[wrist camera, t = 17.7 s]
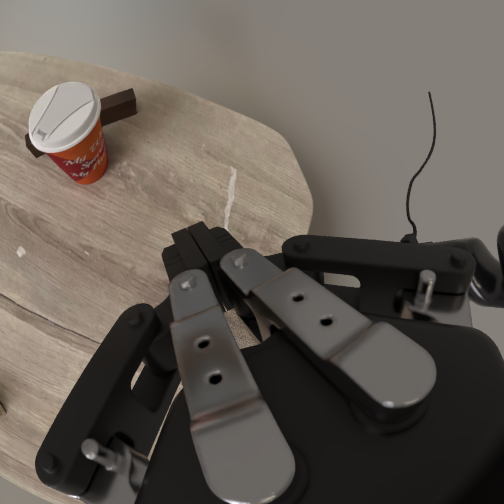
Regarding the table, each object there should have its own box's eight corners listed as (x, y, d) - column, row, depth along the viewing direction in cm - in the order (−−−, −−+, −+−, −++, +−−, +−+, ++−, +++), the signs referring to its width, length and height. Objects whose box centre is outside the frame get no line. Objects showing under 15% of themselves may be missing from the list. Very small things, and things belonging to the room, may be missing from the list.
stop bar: (133, 103, 32) (132, 87, 29) (136, 113, 32) (135, 98, 29) (34, 147, 27) (24, 135, 23) (36, 158, 27) (26, 146, 23)
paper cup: (94, 202, 30) (61, 160, 17) (53, 177, 28) (10, 129, 15) (126, 152, 32) (117, 90, 19) (85, 130, 30) (63, 68, 17)
